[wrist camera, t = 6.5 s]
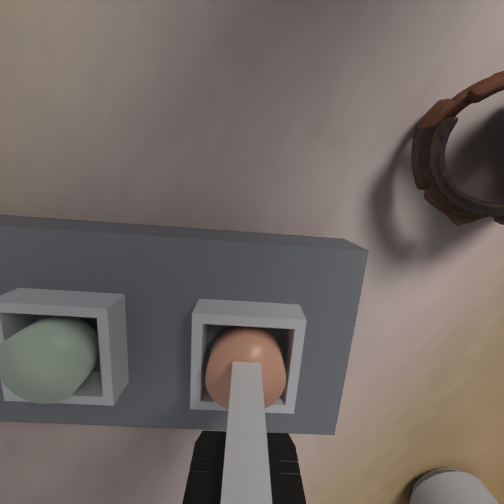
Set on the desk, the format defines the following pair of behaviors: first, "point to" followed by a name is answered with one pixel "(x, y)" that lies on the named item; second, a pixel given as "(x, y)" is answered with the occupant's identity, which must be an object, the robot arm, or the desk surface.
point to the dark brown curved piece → (433, 156)
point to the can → (450, 488)
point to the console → (181, 316)
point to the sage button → (49, 359)
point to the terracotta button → (245, 350)
